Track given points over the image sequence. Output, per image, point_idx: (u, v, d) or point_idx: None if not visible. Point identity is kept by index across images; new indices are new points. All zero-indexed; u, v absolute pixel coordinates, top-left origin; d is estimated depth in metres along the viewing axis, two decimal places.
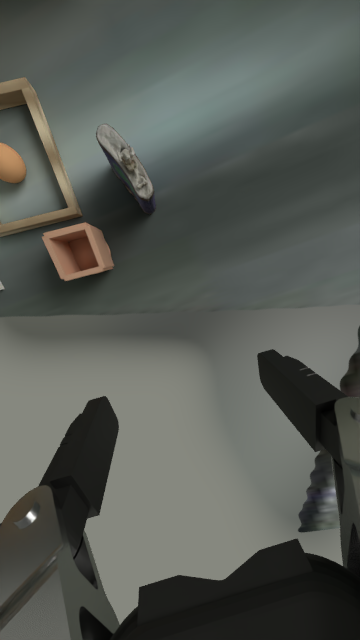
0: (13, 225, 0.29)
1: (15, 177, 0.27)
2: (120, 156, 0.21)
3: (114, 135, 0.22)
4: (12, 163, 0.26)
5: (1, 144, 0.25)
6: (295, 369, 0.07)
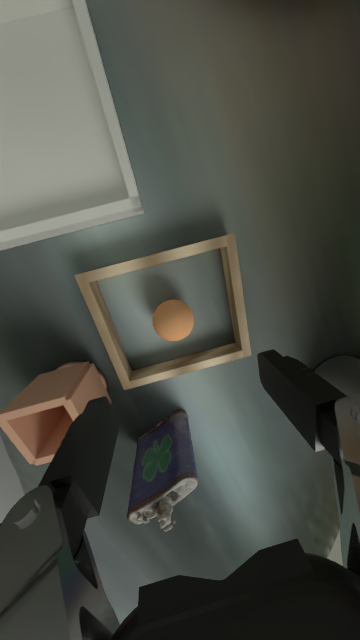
0: (95, 312, 0.19)
1: None
2: (162, 519, 0.18)
3: (187, 491, 0.19)
4: (170, 340, 0.19)
5: (190, 330, 0.19)
6: (295, 369, 0.07)
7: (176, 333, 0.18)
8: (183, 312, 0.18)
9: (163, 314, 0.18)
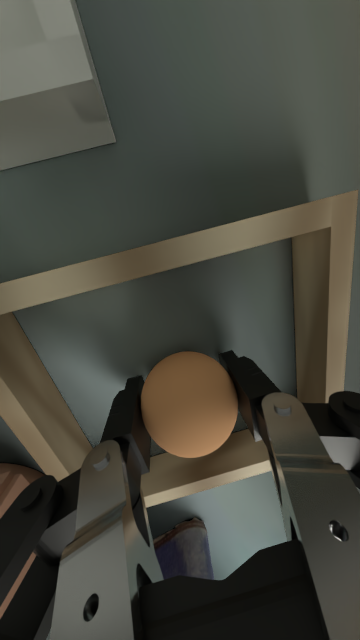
0: None
1: None
2: None
3: None
4: None
5: None
6: (243, 368, 0.08)
7: (201, 453, 0.07)
8: (219, 399, 0.07)
9: (166, 406, 0.07)
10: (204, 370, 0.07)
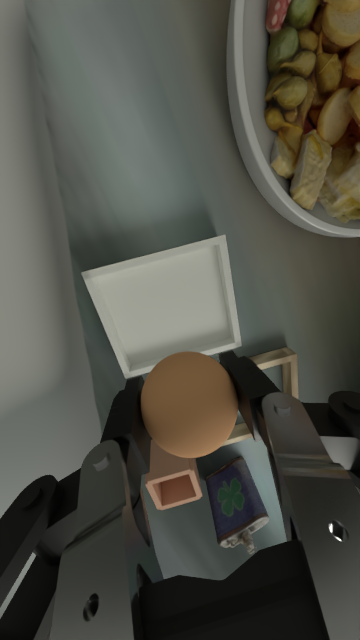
0: None
1: None
2: (249, 546, 0.27)
3: (261, 525, 0.28)
4: None
5: None
6: (243, 368, 0.08)
7: (201, 453, 0.07)
8: (220, 399, 0.07)
9: (165, 406, 0.07)
10: (204, 370, 0.07)
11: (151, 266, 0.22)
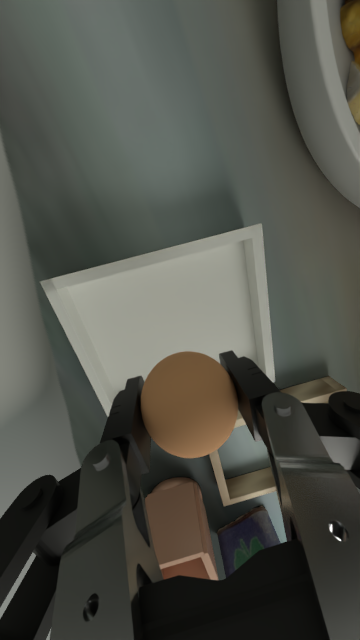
0: (213, 453, 0.21)
1: None
2: None
3: None
4: None
5: None
6: (243, 368, 0.08)
7: (201, 453, 0.07)
8: (220, 399, 0.07)
9: (165, 406, 0.07)
10: (204, 370, 0.07)
11: (149, 271, 0.15)
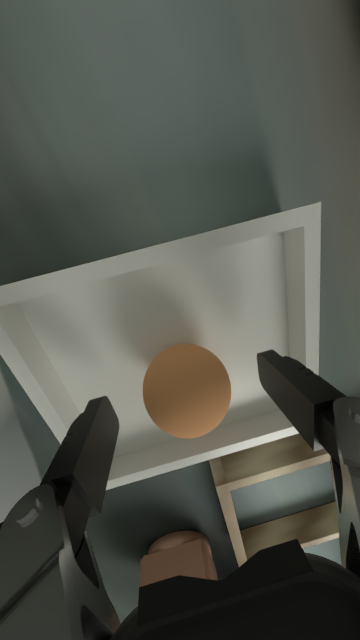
0: (229, 513, 0.16)
1: None
2: None
3: None
4: None
5: None
6: (294, 369, 0.07)
7: (197, 433, 0.08)
8: (214, 384, 0.08)
9: (165, 390, 0.08)
10: (200, 359, 0.08)
11: (142, 277, 0.10)
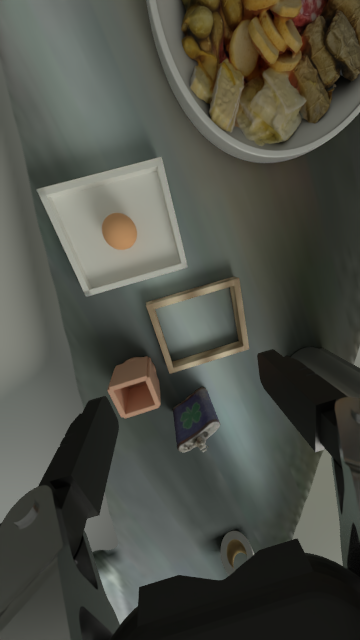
0: (156, 326, 0.31)
1: (106, 241, 0.25)
2: (201, 444, 0.31)
3: (214, 430, 0.32)
4: (116, 245, 0.24)
5: (132, 237, 0.24)
6: (295, 369, 0.07)
7: (119, 236, 0.23)
8: (124, 219, 0.23)
9: (107, 220, 0.23)
10: (120, 213, 0.24)
11: (101, 190, 0.25)
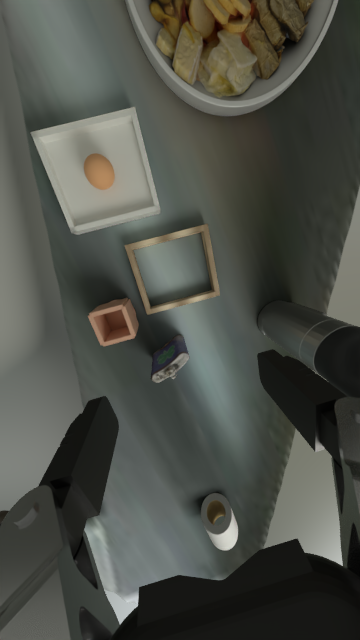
0: (134, 266, 0.36)
1: (87, 179, 0.29)
2: (170, 371, 0.34)
3: (183, 362, 0.36)
4: (95, 181, 0.29)
5: (109, 175, 0.29)
6: (295, 369, 0.07)
7: (96, 171, 0.28)
8: (101, 157, 0.28)
9: (87, 157, 0.27)
10: (99, 154, 0.28)
11: (85, 137, 0.29)
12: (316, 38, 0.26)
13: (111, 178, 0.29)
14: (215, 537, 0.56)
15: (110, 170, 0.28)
